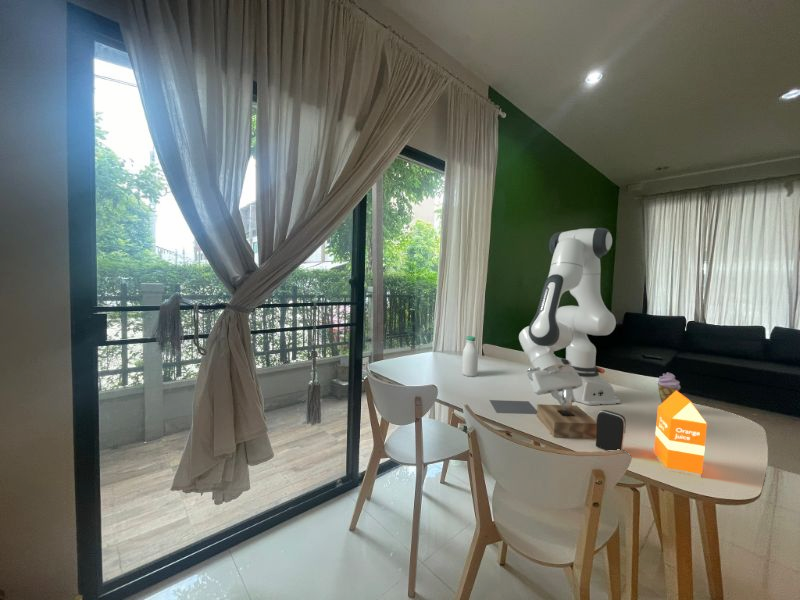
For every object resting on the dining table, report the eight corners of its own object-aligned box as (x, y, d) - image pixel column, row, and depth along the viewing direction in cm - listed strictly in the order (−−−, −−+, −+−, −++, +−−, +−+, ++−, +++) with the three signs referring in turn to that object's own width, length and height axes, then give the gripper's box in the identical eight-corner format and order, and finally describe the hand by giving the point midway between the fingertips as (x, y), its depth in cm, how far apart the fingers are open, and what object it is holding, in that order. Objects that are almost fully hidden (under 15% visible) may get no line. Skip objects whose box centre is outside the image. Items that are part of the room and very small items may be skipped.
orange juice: (665, 470, 86) (672, 398, 84) (653, 453, 94) (658, 387, 92) (702, 477, 83) (710, 403, 81) (686, 459, 91) (692, 391, 89)
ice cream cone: (674, 409, 125) (678, 372, 124) (680, 415, 120) (684, 376, 119) (653, 405, 128) (656, 369, 127) (658, 411, 123) (661, 374, 121)
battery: (624, 451, 94) (627, 414, 93) (621, 456, 92) (624, 418, 91) (598, 442, 100) (600, 407, 99) (594, 446, 97) (596, 410, 96)
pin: (568, 415, 110) (570, 387, 109) (572, 419, 107) (574, 390, 106) (559, 415, 110) (561, 387, 109) (563, 419, 107) (565, 390, 106)
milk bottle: (478, 377, 161) (480, 338, 159) (463, 376, 161) (464, 338, 159) (475, 372, 168) (476, 335, 167) (460, 372, 169) (462, 335, 167)
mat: (528, 402, 130) (528, 401, 130) (540, 415, 118) (540, 414, 118) (489, 401, 131) (489, 400, 131) (496, 413, 119) (496, 412, 119)
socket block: (575, 418, 116) (576, 405, 115) (597, 438, 102) (598, 423, 101) (536, 417, 116) (537, 404, 116) (553, 437, 102) (554, 422, 102)
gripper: (529, 364, 110) (551, 403, 102) (572, 359, 117) (595, 395, 109) (519, 373, 114) (539, 410, 106) (561, 368, 122) (583, 402, 114)
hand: (568, 402), depth 108 cm, fingers closed on pin, 3 cm apart
